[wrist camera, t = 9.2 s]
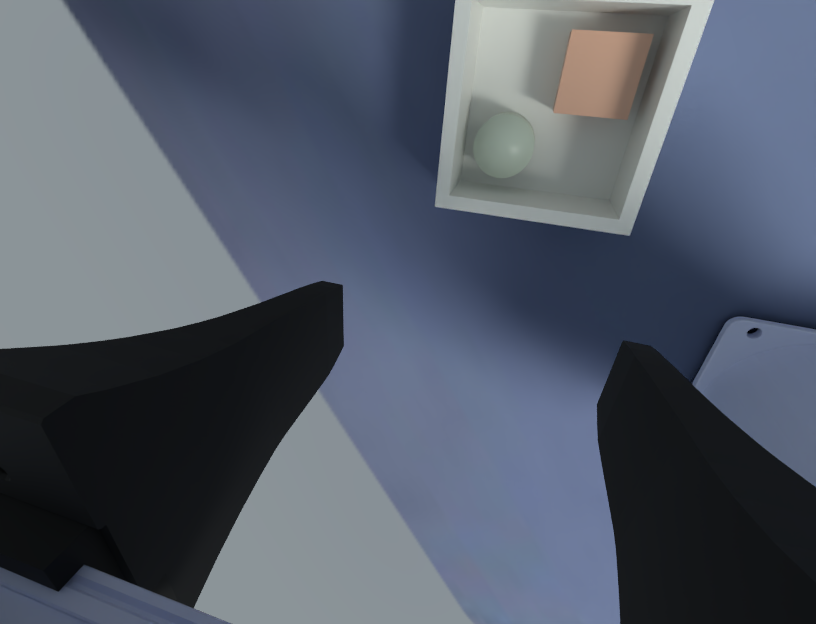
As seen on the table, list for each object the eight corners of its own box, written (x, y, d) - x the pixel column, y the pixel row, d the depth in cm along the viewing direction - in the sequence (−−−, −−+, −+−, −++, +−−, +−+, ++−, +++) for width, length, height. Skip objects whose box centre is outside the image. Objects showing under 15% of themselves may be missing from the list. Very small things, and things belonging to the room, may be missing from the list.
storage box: (688, -2, 13) (720, -18, 11) (617, 211, 17) (629, 235, 14) (472, -10, 15) (457, -26, 12) (449, 188, 18) (434, 206, 16)
